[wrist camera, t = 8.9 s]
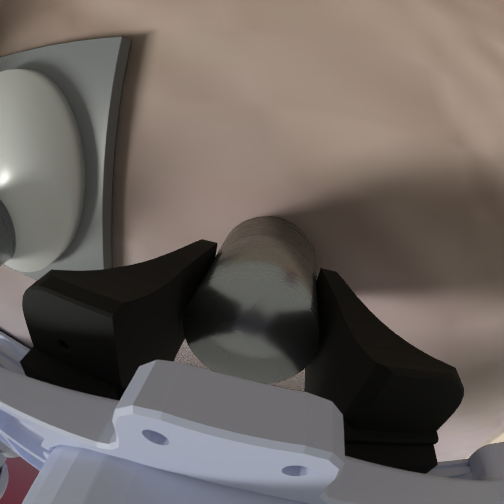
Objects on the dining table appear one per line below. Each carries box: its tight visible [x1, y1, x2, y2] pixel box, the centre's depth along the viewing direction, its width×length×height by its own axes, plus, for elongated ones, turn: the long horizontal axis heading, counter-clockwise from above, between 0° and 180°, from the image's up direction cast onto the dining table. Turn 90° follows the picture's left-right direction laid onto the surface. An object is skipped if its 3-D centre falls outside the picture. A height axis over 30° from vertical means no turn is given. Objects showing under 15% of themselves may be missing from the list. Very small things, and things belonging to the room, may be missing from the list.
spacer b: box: [183, 217, 319, 384], centre depth 11 cm, size 4×4×5 cm
